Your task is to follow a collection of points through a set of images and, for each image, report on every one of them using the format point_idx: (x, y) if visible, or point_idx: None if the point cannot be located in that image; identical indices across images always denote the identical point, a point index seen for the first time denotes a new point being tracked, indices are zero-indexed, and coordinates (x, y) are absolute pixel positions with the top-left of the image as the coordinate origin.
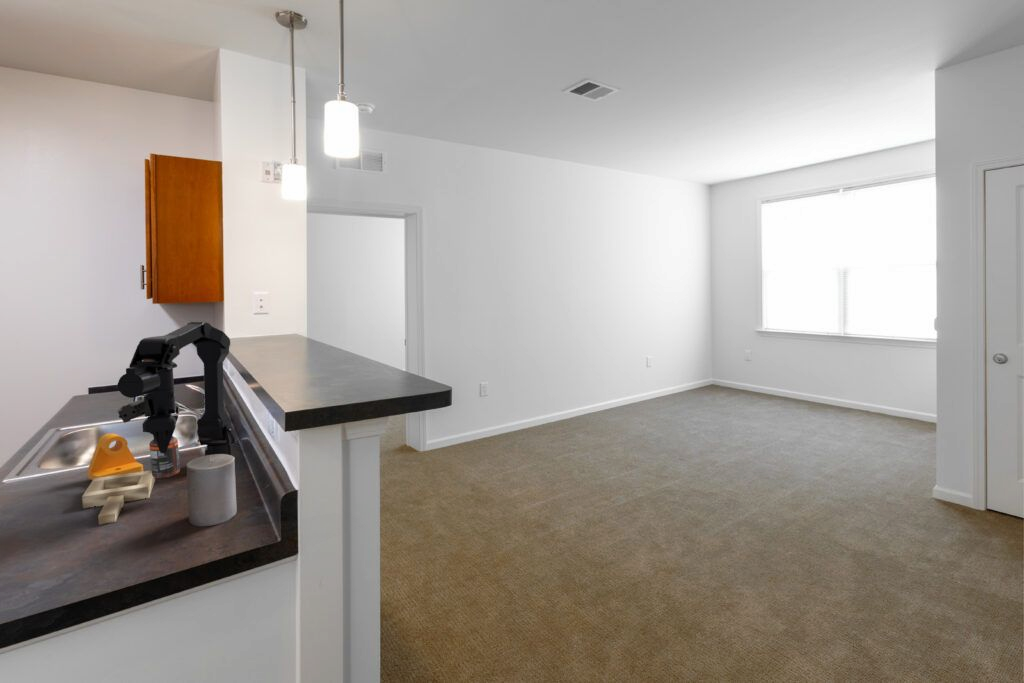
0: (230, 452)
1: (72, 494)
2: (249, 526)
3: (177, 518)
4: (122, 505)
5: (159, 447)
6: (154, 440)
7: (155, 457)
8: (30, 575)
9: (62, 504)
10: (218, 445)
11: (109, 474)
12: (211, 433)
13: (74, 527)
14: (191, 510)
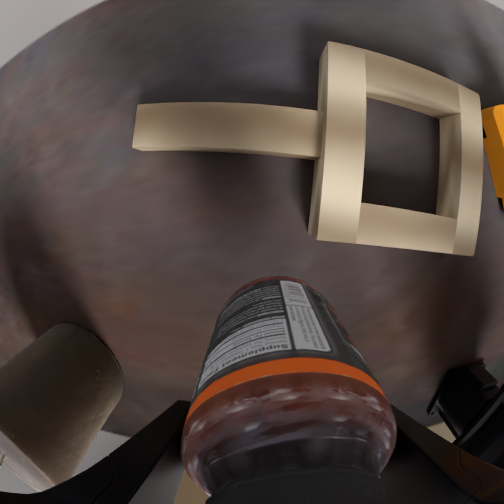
0: (448, 427)
1: (441, 56)
2: None
3: (95, 303)
4: (274, 155)
5: (146, 429)
6: (245, 453)
7: (212, 351)
8: (9, 78)
9: (379, 27)
10: (466, 426)
11: (499, 136)
12: (482, 448)
13: (170, 58)
14: (35, 340)
